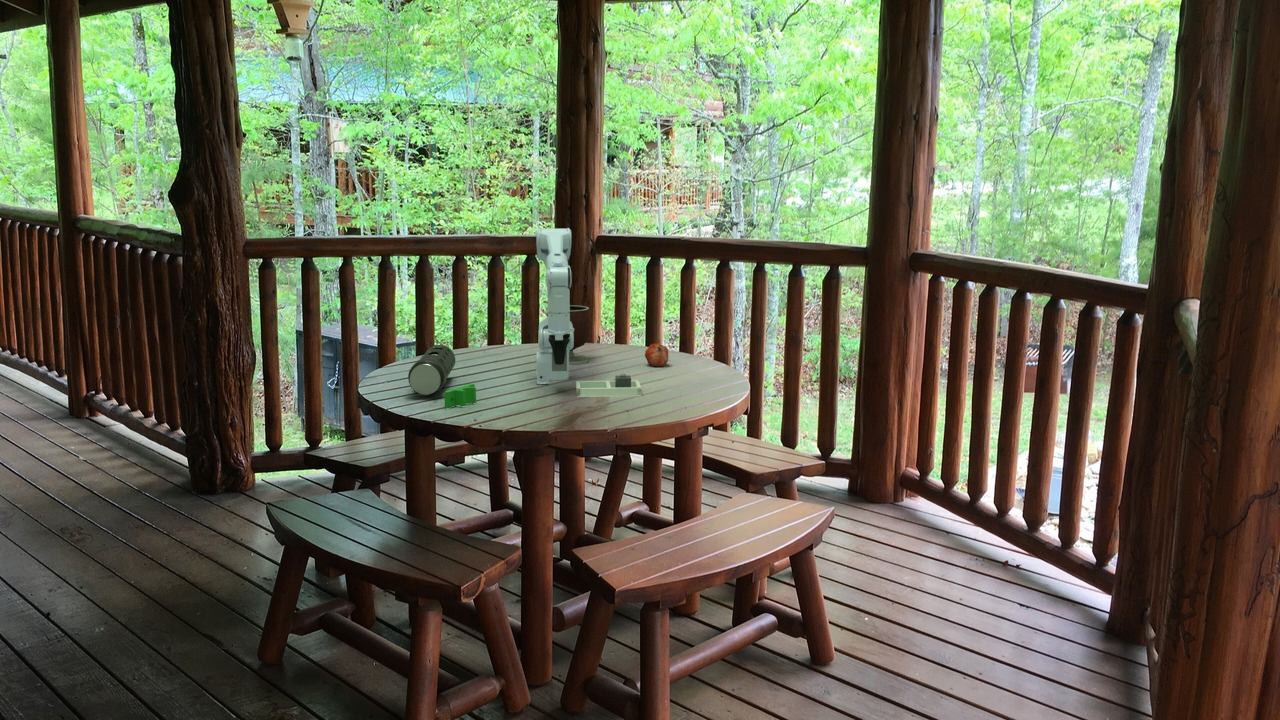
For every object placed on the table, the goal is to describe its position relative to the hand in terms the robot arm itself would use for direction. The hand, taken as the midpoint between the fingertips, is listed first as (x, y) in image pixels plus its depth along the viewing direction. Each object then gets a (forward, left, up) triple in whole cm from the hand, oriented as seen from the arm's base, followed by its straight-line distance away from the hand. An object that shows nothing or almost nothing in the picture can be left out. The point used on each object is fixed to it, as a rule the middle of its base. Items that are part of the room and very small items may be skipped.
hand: (559, 362), depth 260 cm
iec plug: (0, 0, -2) cm, 2 cm away
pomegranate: (+30, +40, -9) cm, 51 cm away
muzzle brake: (-35, +10, -9) cm, 37 cm away
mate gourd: (+2, +48, -9) cm, 49 cm away
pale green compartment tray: (+13, -2, -9) cm, 16 cm away
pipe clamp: (-25, -10, -9) cm, 28 cm away
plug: (+17, -2, -8) cm, 19 cm away
